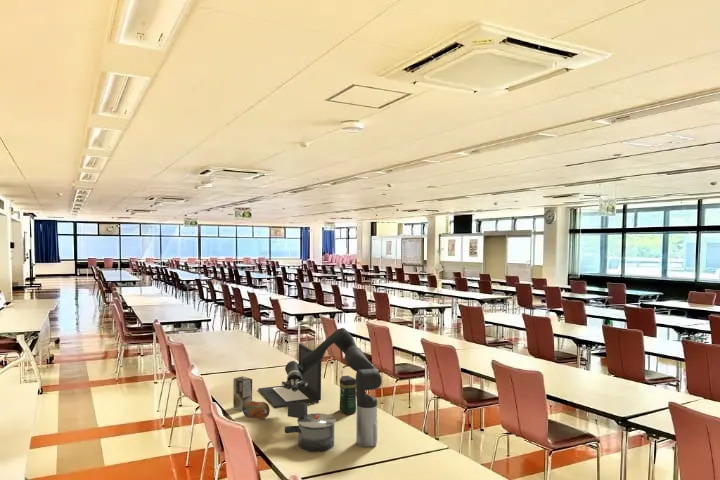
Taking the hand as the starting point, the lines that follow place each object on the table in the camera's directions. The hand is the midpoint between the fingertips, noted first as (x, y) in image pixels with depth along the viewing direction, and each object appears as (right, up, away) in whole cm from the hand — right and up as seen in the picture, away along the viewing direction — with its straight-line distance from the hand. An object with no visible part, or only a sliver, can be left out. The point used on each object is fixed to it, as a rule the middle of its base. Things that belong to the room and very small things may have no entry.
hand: (294, 389), depth 244 cm
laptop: (-11, -22, +61) cm, 66 cm away
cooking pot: (+8, -21, -12) cm, 26 cm away
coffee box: (-33, -21, +38) cm, 54 cm away
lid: (+9, -11, -10) cm, 17 cm away
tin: (-23, -21, +23) cm, 39 cm away
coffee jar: (+24, -22, +34) cm, 47 cm away
